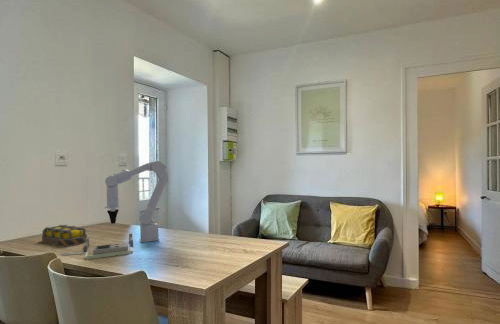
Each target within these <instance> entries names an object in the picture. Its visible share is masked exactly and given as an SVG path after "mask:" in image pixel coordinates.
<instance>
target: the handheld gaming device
mask: <svg viewBox="0 0 500 324" xmlns="http://www.w3.org/2000/svg"><path fill="white" fill-rule="evenodd" d="M128 250H129V245H128V243H122V242H121V243H113V244H111V243H109V244H104V245H103V244H102V245H95V246H94V247H93V250H92V255H96V254H104V253H112V252H120V251H128Z"/></svg>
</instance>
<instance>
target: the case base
mask: <svg viewBox="0 0 500 324" xmlns="http://www.w3.org/2000/svg"><path fill="white" fill-rule="evenodd" d="M128 240H129V241H128V243H130V244H129V245H130V247H134V239H133V232H129V233H128ZM83 247H84V249H83V250H84V252H88V249H89V247H90V237H87V238H85V242H84V245H83Z"/></svg>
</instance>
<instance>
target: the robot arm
mask: <svg viewBox="0 0 500 324" xmlns="http://www.w3.org/2000/svg"><path fill="white" fill-rule="evenodd" d="M146 171H149V172H151V171H153V173H155V175H156V177H157V179H158V180H157V182H156V185H155V187H154V188H153V192H152V194H151V196H150V198H149V200H148V203H147V206H146V208H145V209H144V211H143V213H142V214H140V216H139V222H140V224H139V225H140V226H139V232H140V233H139V234H140V238H139V243H146V242H154V241H159V240H160V239H159V224H158V223H157V222H156V223H155V222H154V221H153V220H154V218H155V217H154V216H155V214H154V213H155V212H156V211H155V210H156V208H157V205H158V203H159V201H160V198H161V196H162V194H163V191H164V189H165V187H166V184H167V182H168V179H169V176H168V172H167V167H166V165H165V163H164V162H163V161H161V160H154V161H152V162H147V163H144V164H142V165H140V166H137V167H136V168H133V169H131V170H129V169H122V170H121V171H120V172H117V173H113V175H109V176H107V177H106V178H105V179H104V182H105V185H106V206H104V209H108V210H107V214H108V216H109V221H110V224H111V225H112V224H116V223H117V215H118V213H119V209H117V208H120V206H119V188H118V186H119V184H120V185H121V184H123V183H125V182H128V181H131V180H132V178H133V176H136V175H139V174H142V173H144V172H146ZM109 209H110V210H109Z"/></svg>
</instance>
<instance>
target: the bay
mask: <svg viewBox="0 0 500 324" xmlns="http://www.w3.org/2000/svg"><path fill="white" fill-rule="evenodd" d="M88 252H89V251H87V253H86V254H84V260H87V259H88V260H93V259H100V258H106V257H108V258H109V257H115V256H116V255H117V256H124V255H130V254H133V252H134V251H133V246H130V247H129V249H128V251H120V252H112V253H104V254H96V255H93V254H90V255H89V253H88Z"/></svg>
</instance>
